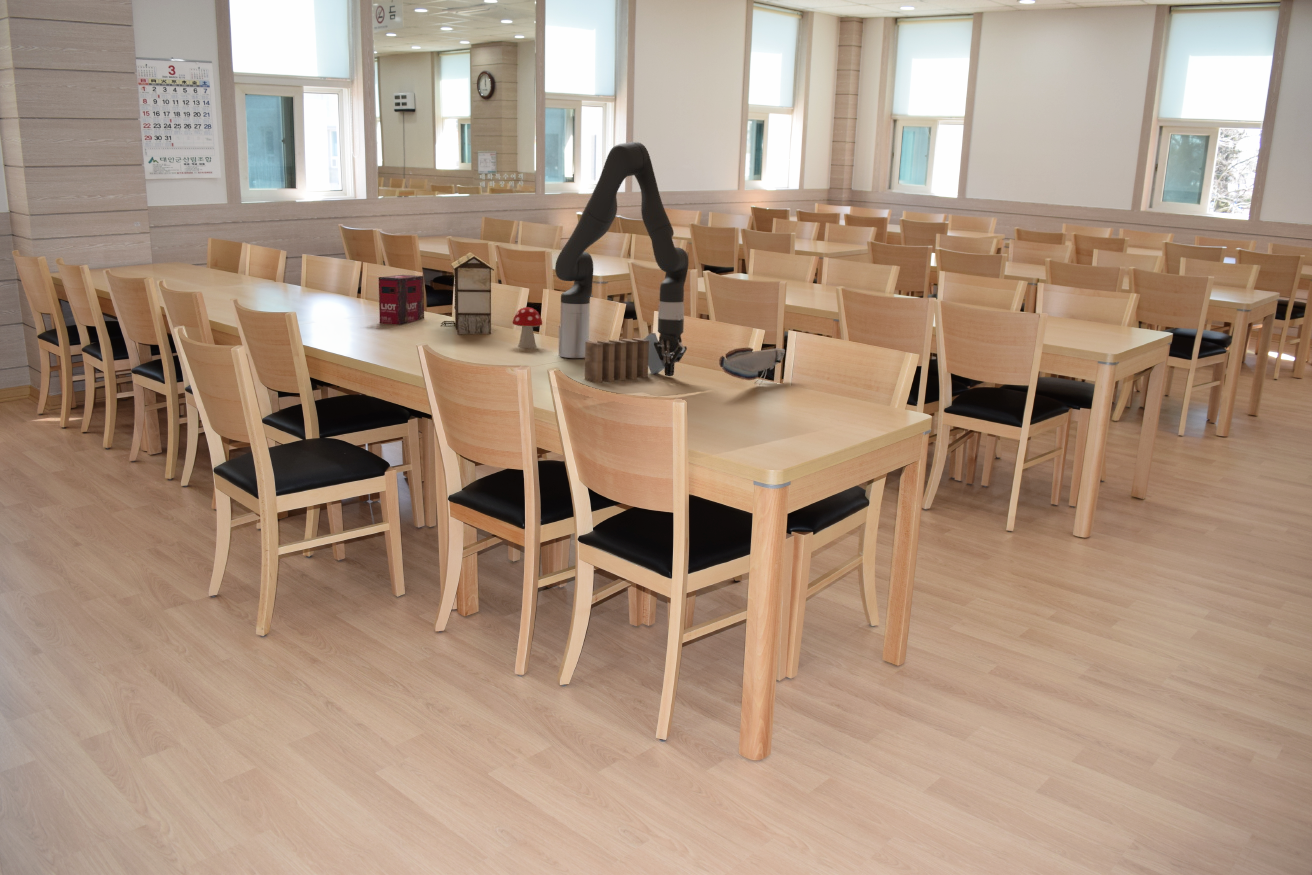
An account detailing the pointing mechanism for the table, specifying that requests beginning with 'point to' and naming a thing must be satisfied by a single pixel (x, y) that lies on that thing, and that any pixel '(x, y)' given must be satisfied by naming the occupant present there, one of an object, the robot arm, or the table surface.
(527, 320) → the decorative mushroom
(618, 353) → the tile
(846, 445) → the table surface
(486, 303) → the miniature building
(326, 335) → the table surface
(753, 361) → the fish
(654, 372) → the slate tile
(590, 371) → the tile
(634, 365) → the tile
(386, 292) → the box
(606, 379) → the tile
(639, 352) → the tile
